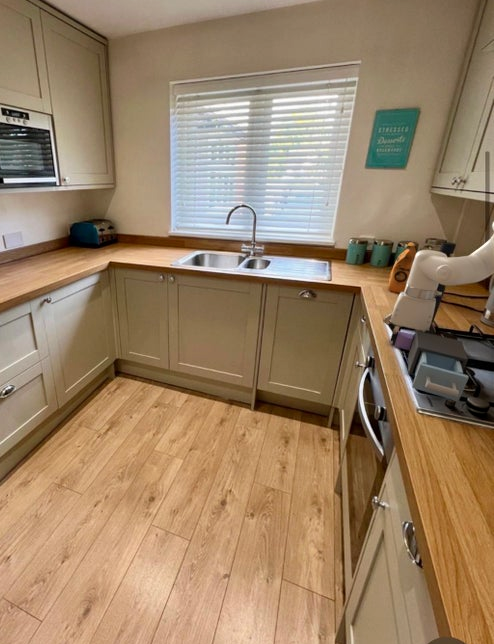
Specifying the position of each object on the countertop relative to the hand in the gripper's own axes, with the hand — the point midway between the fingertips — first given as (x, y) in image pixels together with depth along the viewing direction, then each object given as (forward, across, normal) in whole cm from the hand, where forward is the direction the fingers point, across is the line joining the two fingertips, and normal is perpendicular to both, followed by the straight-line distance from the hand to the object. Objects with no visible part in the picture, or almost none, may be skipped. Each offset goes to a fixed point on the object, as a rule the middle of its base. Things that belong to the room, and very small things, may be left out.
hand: (401, 345), depth 105 cm
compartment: (0, -7, +12) cm, 14 cm away
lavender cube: (0, 0, 0) cm, 0 cm away
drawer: (-1, -7, +23) cm, 24 cm away
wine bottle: (0, -6, -24) cm, 25 cm away
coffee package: (0, +2, -64) cm, 64 cm away
